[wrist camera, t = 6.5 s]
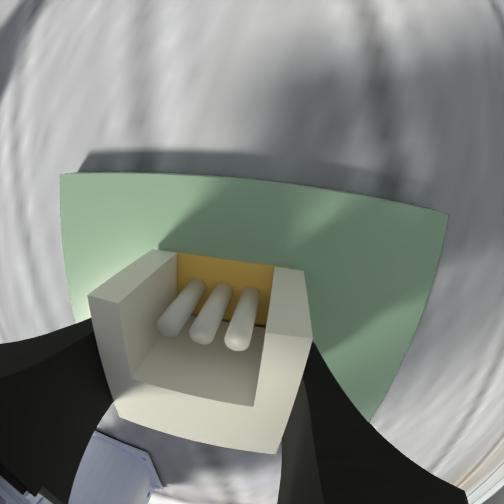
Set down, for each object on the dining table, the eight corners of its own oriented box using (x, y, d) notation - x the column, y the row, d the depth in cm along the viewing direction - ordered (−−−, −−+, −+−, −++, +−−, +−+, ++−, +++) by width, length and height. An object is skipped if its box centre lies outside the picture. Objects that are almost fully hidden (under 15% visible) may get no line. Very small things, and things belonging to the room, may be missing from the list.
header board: (359, 418, 13) (369, 475, 9) (102, 371, 14) (67, 412, 10) (434, 209, 9) (497, 234, 5) (76, 172, 11) (10, 182, 7)
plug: (281, 377, 11) (275, 454, 7) (158, 354, 11) (119, 417, 8) (303, 270, 9) (312, 338, 6) (152, 249, 10) (87, 294, 6)
